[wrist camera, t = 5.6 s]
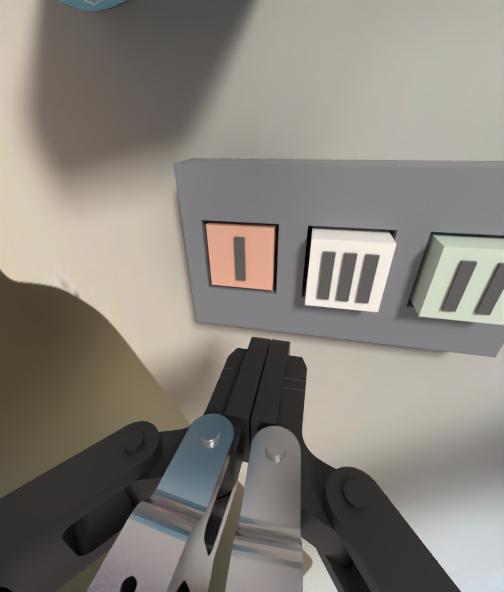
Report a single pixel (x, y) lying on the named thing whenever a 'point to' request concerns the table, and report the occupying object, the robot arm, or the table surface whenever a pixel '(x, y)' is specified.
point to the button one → (243, 254)
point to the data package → (92, 4)
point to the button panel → (340, 213)
